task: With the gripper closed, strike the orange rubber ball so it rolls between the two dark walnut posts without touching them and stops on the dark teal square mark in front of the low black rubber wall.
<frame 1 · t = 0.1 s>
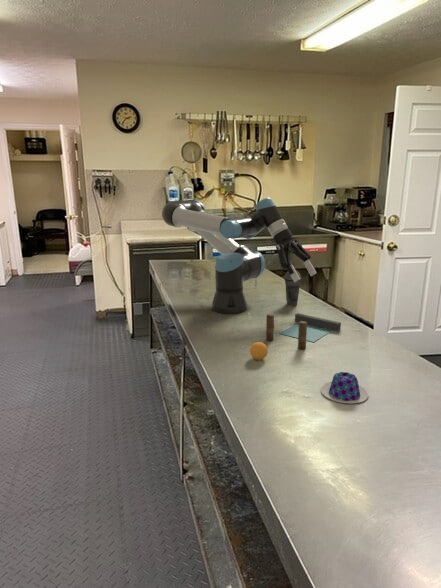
hand: (305, 277, 174), 15 cm above the table, tool tilted 35°, fingers open, 13 cm apart
ball: (258, 350, 134), on the table
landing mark: (305, 332, 157), on the table
stopper wall: (316, 325, 164), on the table
left post: (269, 339, 151), on the table
right post: (301, 348, 143), on the table
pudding: (344, 395, 114), on the table
beverage cup: (291, 304, 192), on the table
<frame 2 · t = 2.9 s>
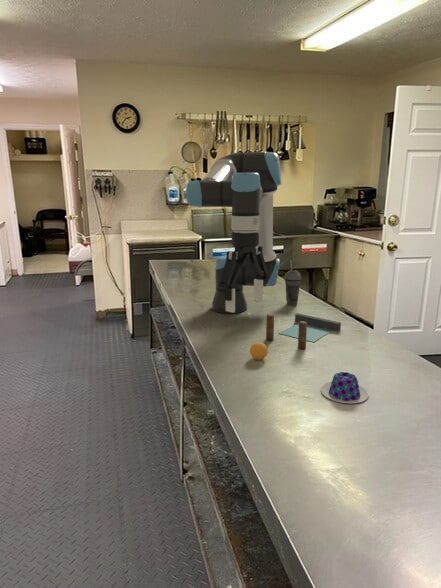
hand: (244, 306, 123), 20 cm above the table, tool pointing down, fingers open, 13 cm apart
nothing on the table moved.
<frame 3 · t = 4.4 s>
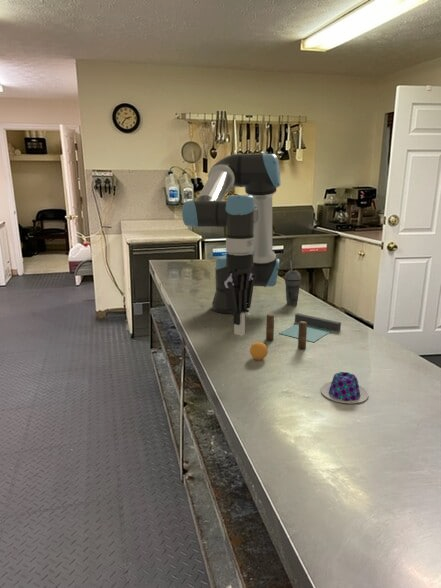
hand: (239, 333, 124), 11 cm above the table, tool pointing down, fingers closed
nothing on the table moved.
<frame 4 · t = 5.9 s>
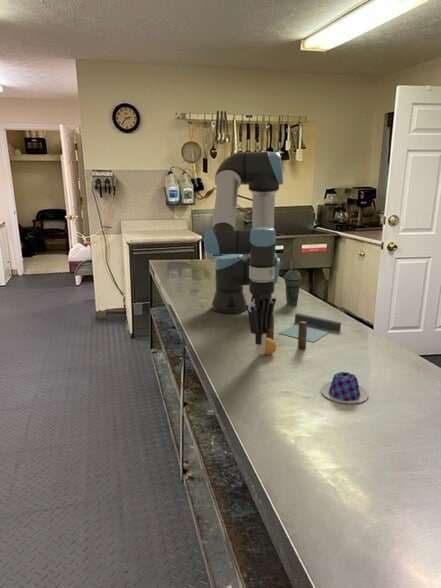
hand: (260, 352, 136), 2 cm above the table, tool pointing down, fingers closed
ball: (267, 346, 138), on the table, touching gripper
everything else where it was.
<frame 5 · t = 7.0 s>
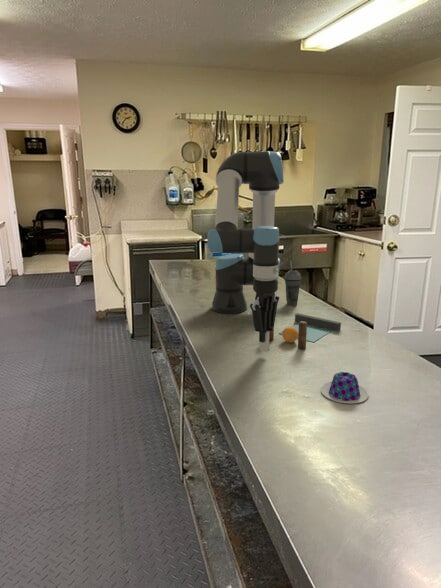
hand: (264, 350, 137), 2 cm above the table, tool pointing down, fingers closed
ball: (290, 334, 148), on the table
everything else where it was.
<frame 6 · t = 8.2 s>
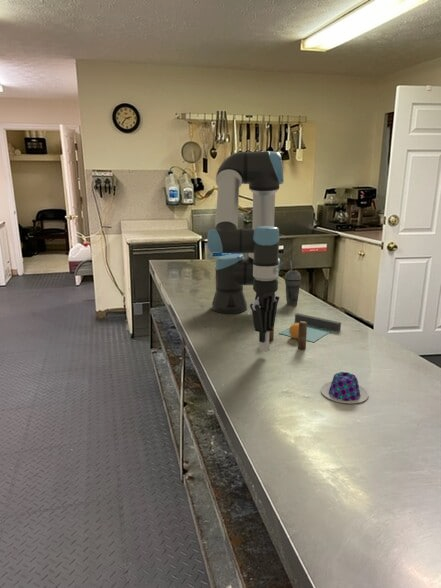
hand: (264, 350, 137), 2 cm above the table, tool pointing down, fingers closed
ball: (297, 330, 151), on the table
everything else where it was.
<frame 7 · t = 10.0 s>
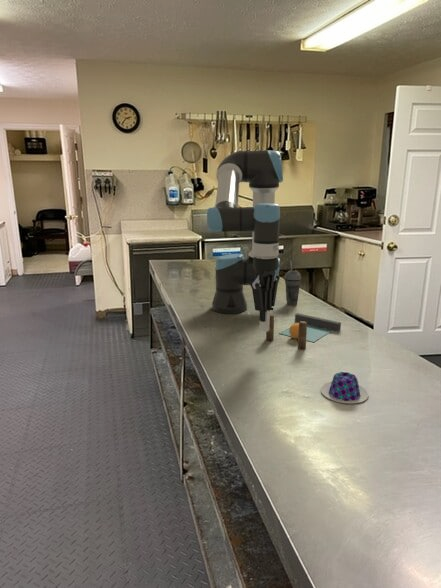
hand: (264, 329, 135), 9 cm above the table, tool pointing down, fingers closed
nothing on the table moved.
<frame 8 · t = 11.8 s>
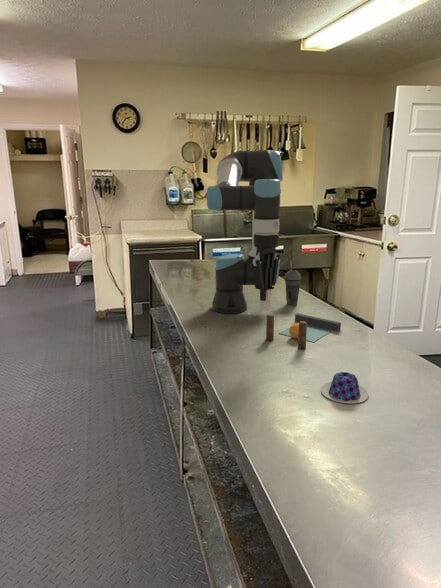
hand: (264, 309, 133), 15 cm above the table, tool pointing down, fingers closed
nothing on the table moved.
at the end: ball 7.0 cm from the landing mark (horizontally); ball never touched left post; ball never touched right post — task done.
